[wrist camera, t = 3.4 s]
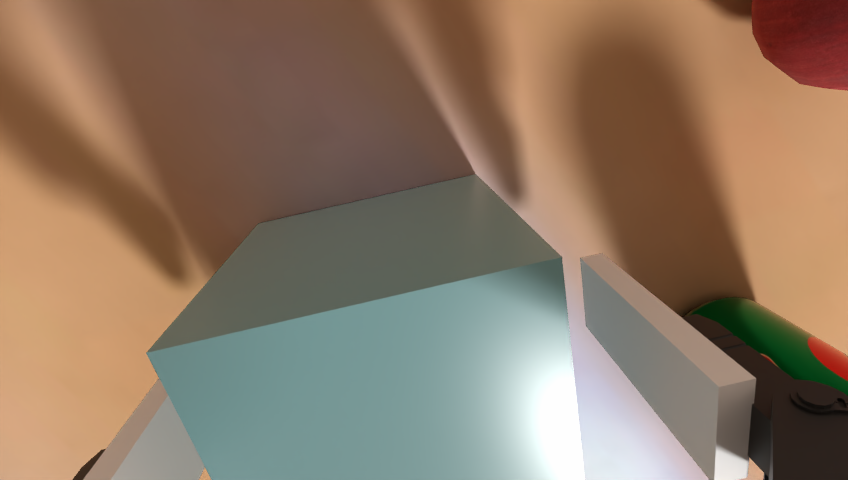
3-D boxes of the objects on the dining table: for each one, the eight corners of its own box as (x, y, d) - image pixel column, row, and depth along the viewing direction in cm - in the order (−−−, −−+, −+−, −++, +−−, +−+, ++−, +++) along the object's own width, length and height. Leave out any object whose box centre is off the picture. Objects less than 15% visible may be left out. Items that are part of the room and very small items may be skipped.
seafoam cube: (322, 399, 20) (281, 615, 12) (258, 223, 17) (146, 353, 9) (506, 356, 20) (591, 541, 12) (475, 173, 17) (561, 256, 9)
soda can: (664, 298, 20) (1038, 584, 8) (770, 284, 20) (1270, 543, 9) (654, 389, 21) (953, 727, 10) (752, 375, 22) (1148, 689, 11)
